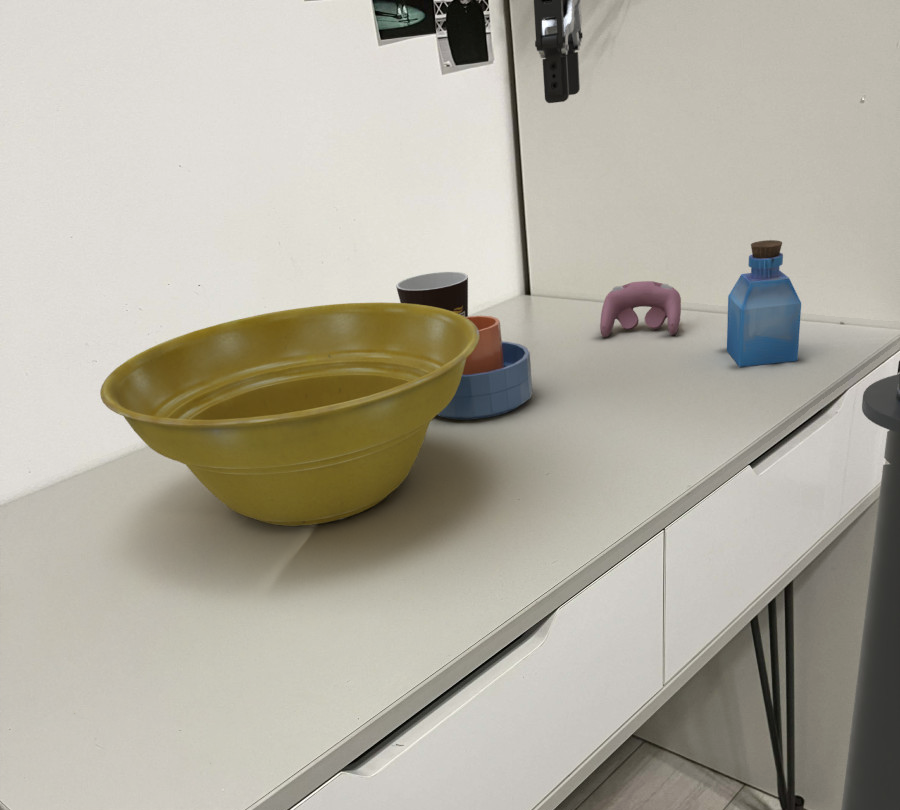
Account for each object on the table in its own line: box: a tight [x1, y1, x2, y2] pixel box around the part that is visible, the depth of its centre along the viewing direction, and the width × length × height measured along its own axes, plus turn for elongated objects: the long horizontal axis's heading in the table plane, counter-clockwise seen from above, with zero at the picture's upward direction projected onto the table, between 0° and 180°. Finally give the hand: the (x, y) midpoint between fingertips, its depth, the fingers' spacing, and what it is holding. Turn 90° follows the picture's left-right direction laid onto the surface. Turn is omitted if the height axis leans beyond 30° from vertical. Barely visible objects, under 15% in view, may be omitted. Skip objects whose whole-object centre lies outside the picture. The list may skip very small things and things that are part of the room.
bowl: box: [436, 340, 534, 421], centre depth 103 cm, size 12×12×5 cm
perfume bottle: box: [726, 239, 802, 368], centre depth 103 cm, size 6×6×12 cm
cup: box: [462, 315, 504, 375], centre depth 102 cm, size 6×6×8 cm
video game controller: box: [599, 280, 682, 338], centre depth 119 cm, size 10×5×7 cm, turn 72°
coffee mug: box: [395, 271, 469, 317], centre depth 116 cm, size 12×9×10 cm
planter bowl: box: [99, 302, 479, 527], centre depth 85 cm, size 32×32×13 cm
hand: (563, 98), depth 94 cm, fingers open, 8 cm apart
